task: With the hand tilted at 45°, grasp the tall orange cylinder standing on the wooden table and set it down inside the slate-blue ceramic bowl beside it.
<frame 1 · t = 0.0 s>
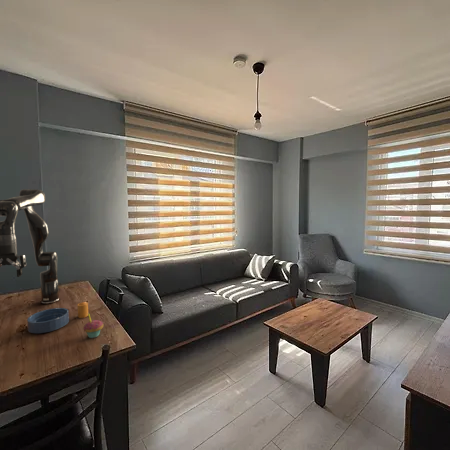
hand: (8, 277, 117), 29 cm above the table, tool pointing down, fingers open, 8 cm apart
cupcake: (94, 335, 120), on the table
orange cylinder: (83, 315, 141), on the table
bowl: (49, 325, 130), on the table
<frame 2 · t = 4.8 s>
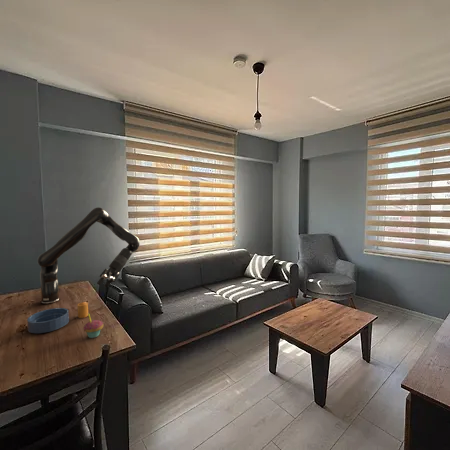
hand: (101, 285, 149), 15 cm above the table, tool tilted 45°, fingers open, 8 cm apart
nothing on the table moved.
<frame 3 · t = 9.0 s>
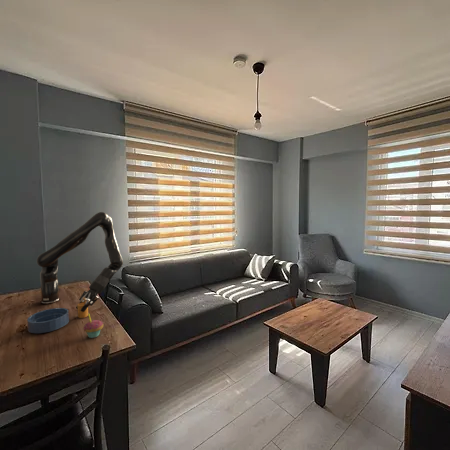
hand: (79, 310, 139), 4 cm above the table, tool tilted 45°, fingers closed on orange cylinder, 5 cm apart
orange cylinder: (83, 315, 141), on the table, touching gripper
everything else where it was.
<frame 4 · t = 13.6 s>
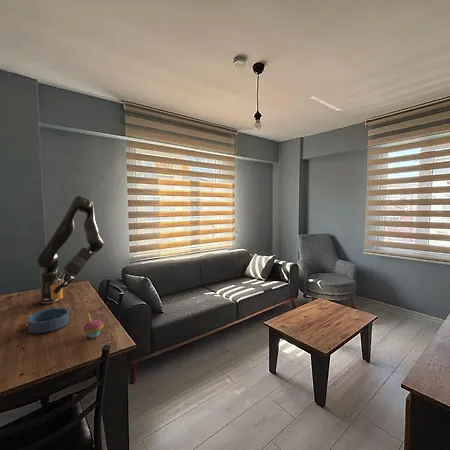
hand: (52, 291, 130), 18 cm above the table, tool tilted 45°, fingers closed on orange cylinder, 5 cm apart
orange cylinder: (57, 298, 132), point 14 cm above the table, touching gripper
everything else where it was.
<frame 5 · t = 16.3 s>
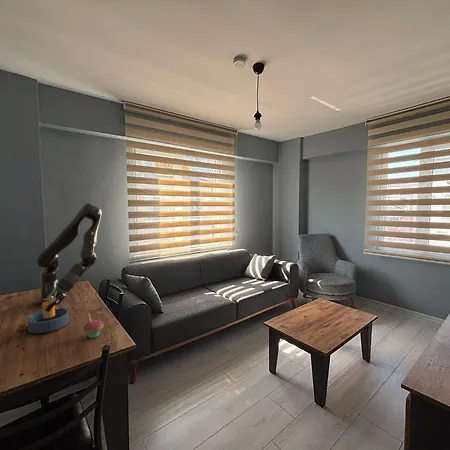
hand: (44, 309, 128), 9 cm above the table, tool tilted 45°, fingers closed on orange cylinder, 5 cm apart
orange cylinder: (49, 316, 129), point 5 cm above the table, touching gripper
everything else where it was.
when the fingers open (5 cm above the table, at t = 18.2 s): orange cylinder stays where it is, resting on bowl.
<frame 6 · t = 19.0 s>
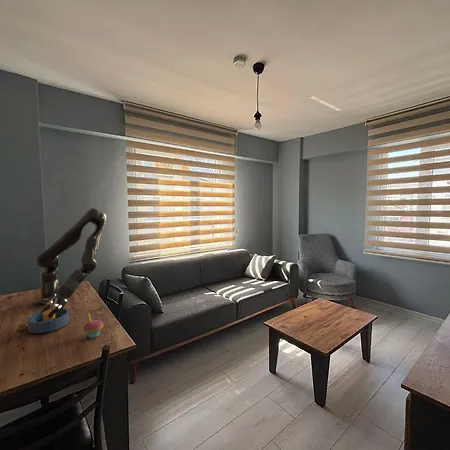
hand: (45, 315, 128), 6 cm above the table, tool tilted 45°, fingers open, 8 cm apart
orange cylinder: (49, 324, 130), point 1 cm above the table, touching bowl
everything else where it was.
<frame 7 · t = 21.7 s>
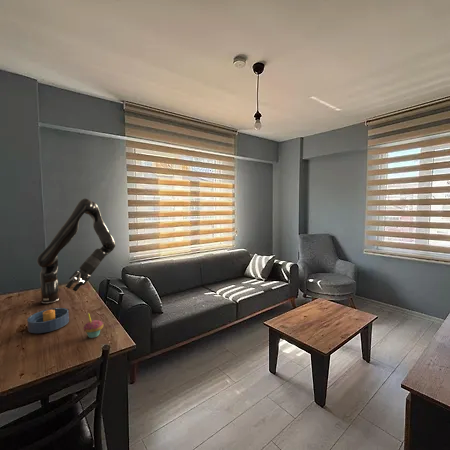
hand: (70, 289, 137), 17 cm above the table, tool tilted 45°, fingers open, 8 cm apart
nothing on the table moved.
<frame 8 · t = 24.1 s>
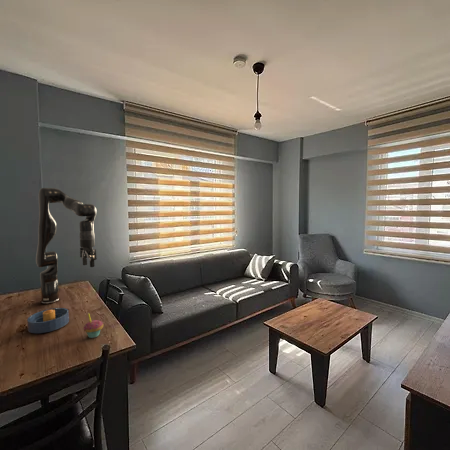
hand: (88, 266, 144), 28 cm above the table, tool pointing down, fingers open, 8 cm apart
nothing on the table moved.
at the end: orange cylinder inside the target area in the bowl (0.2 cm from its centre), point 0.6 cm above the bowl's base; the gripper is holding nothing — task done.
